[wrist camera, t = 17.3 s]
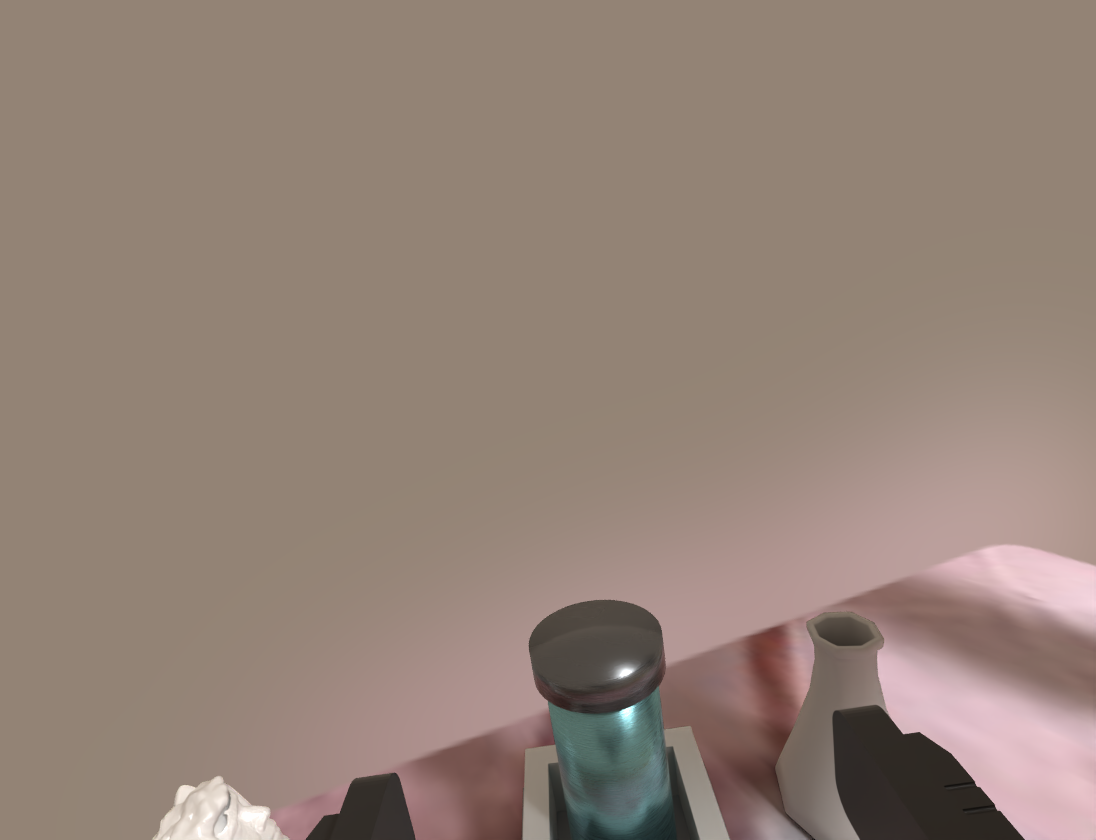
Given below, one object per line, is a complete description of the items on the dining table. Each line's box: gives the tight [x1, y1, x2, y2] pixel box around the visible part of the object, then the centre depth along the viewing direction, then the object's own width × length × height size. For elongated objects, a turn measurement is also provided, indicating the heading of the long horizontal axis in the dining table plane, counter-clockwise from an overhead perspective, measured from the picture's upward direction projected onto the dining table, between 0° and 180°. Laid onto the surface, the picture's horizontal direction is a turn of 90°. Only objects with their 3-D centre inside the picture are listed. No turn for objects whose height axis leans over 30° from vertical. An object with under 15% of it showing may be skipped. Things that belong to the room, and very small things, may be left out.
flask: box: [775, 612, 890, 840], centre depth 30 cm, size 7×7×10 cm
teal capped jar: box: [529, 600, 677, 840], centre depth 27 cm, size 6×6×12 cm
